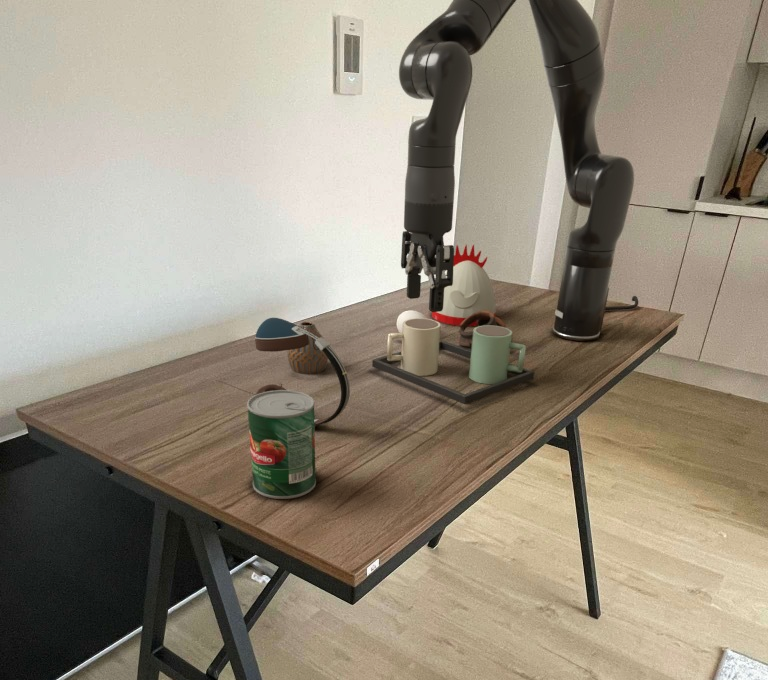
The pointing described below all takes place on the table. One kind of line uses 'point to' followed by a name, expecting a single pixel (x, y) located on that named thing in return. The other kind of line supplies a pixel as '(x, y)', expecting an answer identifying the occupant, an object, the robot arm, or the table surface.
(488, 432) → the table surface
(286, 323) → the headphones
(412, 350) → the cream cup
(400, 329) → the stress ball
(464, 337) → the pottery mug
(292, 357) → the vase
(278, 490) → the canned tomato
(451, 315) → the kitchen timer
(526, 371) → the tray
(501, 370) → the green cup
